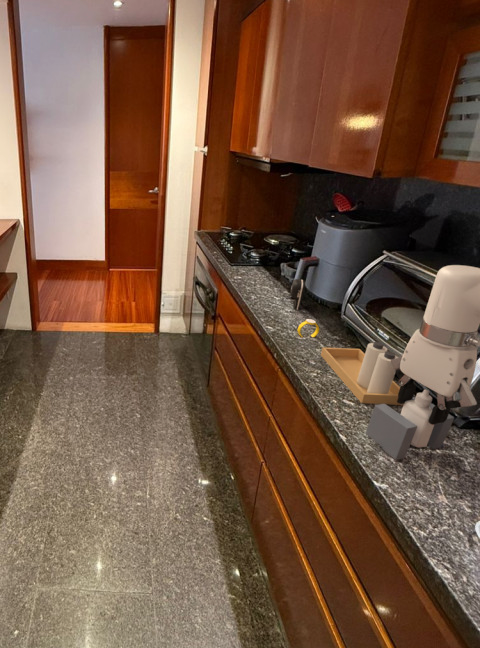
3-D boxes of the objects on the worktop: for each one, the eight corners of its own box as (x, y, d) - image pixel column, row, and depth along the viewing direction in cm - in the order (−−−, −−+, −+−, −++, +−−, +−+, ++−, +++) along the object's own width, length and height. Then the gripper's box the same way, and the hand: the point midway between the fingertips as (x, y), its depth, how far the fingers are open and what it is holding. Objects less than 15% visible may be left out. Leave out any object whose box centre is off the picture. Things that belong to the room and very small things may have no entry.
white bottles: (353, 379, 100) (365, 339, 96) (369, 380, 100) (382, 339, 96) (372, 400, 93) (386, 357, 88) (390, 401, 92) (405, 358, 88)
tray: (320, 356, 112) (322, 347, 110) (356, 358, 111) (359, 348, 110) (360, 405, 92) (364, 394, 91) (405, 407, 91) (409, 396, 90)
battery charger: (287, 305, 144) (292, 276, 140) (298, 307, 142) (304, 278, 138) (287, 313, 138) (293, 283, 134) (298, 315, 137) (305, 285, 132)
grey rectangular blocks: (408, 425, 86) (419, 395, 83) (441, 448, 80) (454, 417, 76) (364, 435, 83) (374, 405, 80) (395, 460, 77) (407, 428, 74)
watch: (298, 339, 121) (302, 322, 118) (294, 335, 123) (298, 318, 121) (318, 340, 120) (322, 323, 118) (314, 335, 123) (318, 319, 121)
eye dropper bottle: (401, 444, 79) (417, 396, 74) (394, 426, 83) (408, 380, 79) (428, 450, 77) (445, 401, 73) (419, 432, 82) (435, 384, 77)
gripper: (518, 352, 64) (482, 437, 71) (415, 311, 80) (393, 384, 86) (485, 359, 63) (451, 446, 69) (386, 315, 78) (366, 390, 85)
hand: (419, 411), depth 78 cm, fingers closed on eye dropper bottle, 5 cm apart
